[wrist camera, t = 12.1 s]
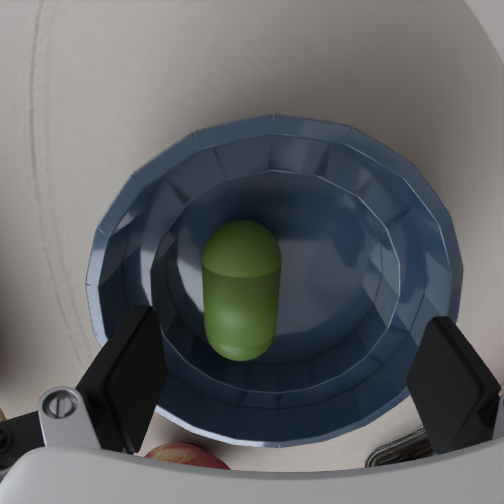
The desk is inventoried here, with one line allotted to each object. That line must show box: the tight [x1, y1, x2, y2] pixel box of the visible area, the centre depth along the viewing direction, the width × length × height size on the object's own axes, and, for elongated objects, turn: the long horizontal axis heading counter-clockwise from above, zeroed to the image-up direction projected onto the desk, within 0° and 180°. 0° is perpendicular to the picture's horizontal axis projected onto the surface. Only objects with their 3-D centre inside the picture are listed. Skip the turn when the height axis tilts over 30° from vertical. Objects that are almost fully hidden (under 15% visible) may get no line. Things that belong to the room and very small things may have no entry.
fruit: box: [145, 442, 231, 470], centre depth 17 cm, size 8×8×8 cm
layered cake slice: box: [365, 428, 438, 468], centre depth 20 cm, size 10×7×12 cm
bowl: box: [86, 114, 463, 448], centre depth 13 cm, size 14×14×5 cm
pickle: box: [202, 220, 282, 361], centre depth 13 cm, size 6×3×3 cm
